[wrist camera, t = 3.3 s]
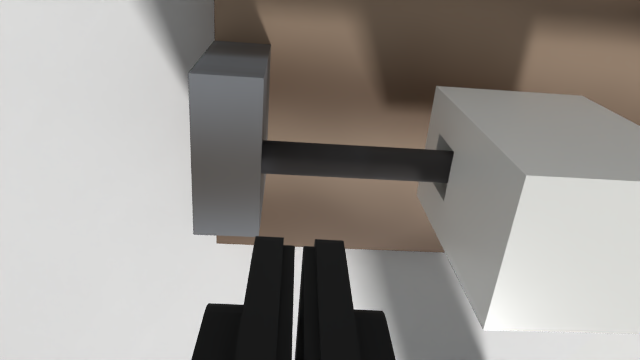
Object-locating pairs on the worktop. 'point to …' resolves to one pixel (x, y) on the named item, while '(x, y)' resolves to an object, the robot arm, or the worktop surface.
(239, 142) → the cord rack
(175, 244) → the worktop surface
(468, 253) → the sleeve
